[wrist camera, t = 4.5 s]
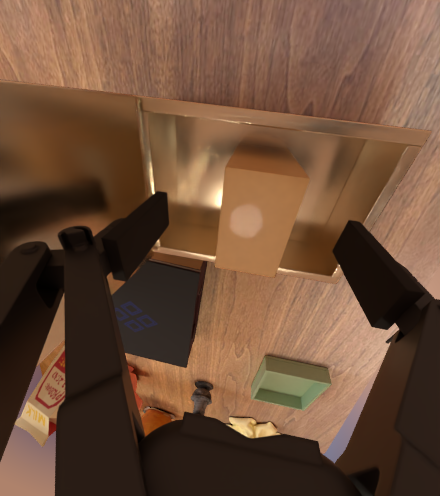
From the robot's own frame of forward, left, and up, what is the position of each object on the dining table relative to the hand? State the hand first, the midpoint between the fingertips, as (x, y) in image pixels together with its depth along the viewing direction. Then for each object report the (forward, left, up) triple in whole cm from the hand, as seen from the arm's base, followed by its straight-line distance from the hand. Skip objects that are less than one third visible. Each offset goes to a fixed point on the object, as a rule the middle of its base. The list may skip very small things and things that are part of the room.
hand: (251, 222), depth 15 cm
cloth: (-17, +85, -10) cm, 87 cm away
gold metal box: (0, 0, -10) cm, 10 cm away
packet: (0, 0, -9) cm, 9 cm away
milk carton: (+28, +39, -10) cm, 49 cm away
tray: (-16, +44, -10) cm, 48 cm away
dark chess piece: (+3, +59, -10) cm, 60 cm away
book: (+14, +21, -10) cm, 27 cm away
